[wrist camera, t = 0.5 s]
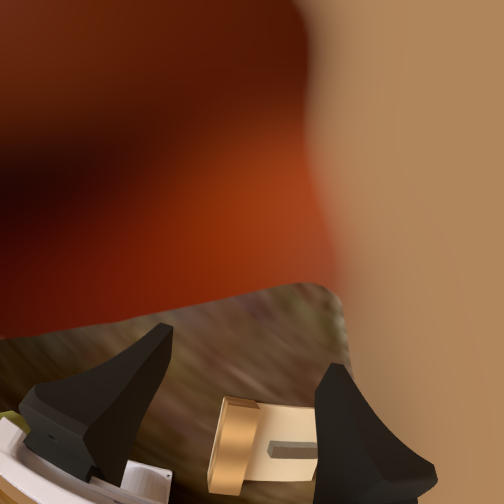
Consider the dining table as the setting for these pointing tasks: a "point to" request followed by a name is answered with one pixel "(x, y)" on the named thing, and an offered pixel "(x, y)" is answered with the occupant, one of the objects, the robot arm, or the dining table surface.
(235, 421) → the oak bar
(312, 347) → the dining table surface
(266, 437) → the serving board
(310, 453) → the fulcrum strip
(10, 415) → the plant pot
